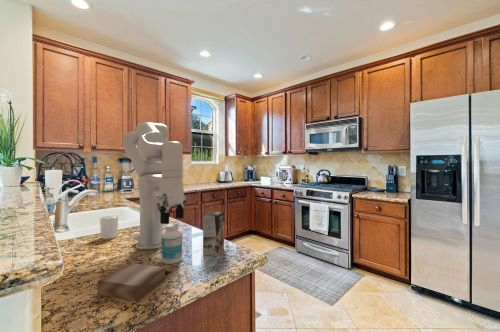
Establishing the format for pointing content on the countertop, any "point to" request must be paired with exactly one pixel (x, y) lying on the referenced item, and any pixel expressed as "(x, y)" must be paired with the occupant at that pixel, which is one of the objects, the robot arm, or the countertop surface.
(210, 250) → the coffee box
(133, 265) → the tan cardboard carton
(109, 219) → the white cup
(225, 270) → the countertop surface
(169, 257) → the pill bottle
